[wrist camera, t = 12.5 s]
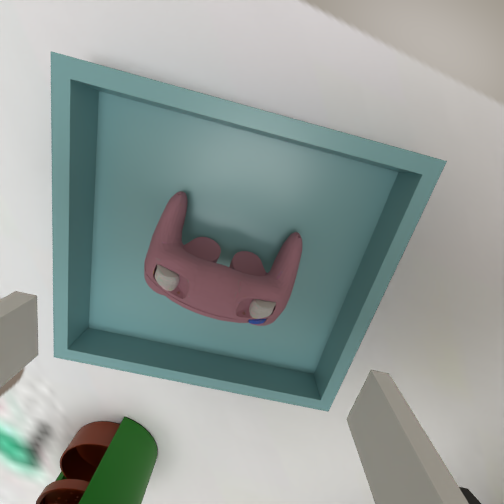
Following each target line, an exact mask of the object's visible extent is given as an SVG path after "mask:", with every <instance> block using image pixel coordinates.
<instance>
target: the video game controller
mask: <svg viewBox="0 0 504 504" xmlns="http://www.w3.org/2000/svg"><path fill="white" fill-rule="evenodd" d="M187 202H188V200H187V195H186V193H185V192H183V191H180V192H177V193H176V194H175V195H173V196H172V197H171V198H170V200H169V202H168V203H167V205H166V207H165V209H164V211H163V213H162V215H161V218H160V220H159V222H158V224H157V226H156V228H155V231H154V233H153V236H152V239H151V242H150V246H149V249H148V252H147V255H146V258H145V262H144V277H145V281H146V283H147V284H148V286H149V287H150V288H151V289H152V290H153V291H155V292H156V293H158V294H160V295H164V296H166V297H167V298H169V299H170V300H171V301H173V302H175V303H176V304H178V305H180V306H182V307H183V308H186V309H188V310H190V311H192V312H195V313H197V314H200V315H203V316H206V317H210V318H214V319H217V320H221V321H228V322H235V323H250V324H252V325H257V326H265V325H269V324H271V323H273V322H274V321H275V320H276V319H277V318H278V317H279V315H280V314H281V313H282V312H283V311H284V309H285V308H286V306H287V303H288V301H289V298H290V296H291V293H292V290H293V286H294V283H295V279H296V275H297V271H298V267H299V263H300V258H301V254H302V247H303V246H302V238H301V235H300V234H299V233H298V232H294V233H292V234H291V235H290V236H289V237H288V238H287V240H286V241H285V242H284V244H283V245H282V247H281V249H280V251H279V253H278V255H277V256H276V258H275V260H274V263H273V265H272V268H271V270H270V271H269V272H268V273H267V272H266V271H265V269H264V267H263V264H262V262H261V260H260V258H259V257H258V256H257V255H255V254H254V253H251V252H248V251H240V252H237V253H236V254H235V255H234V257H233V259H232V261H231V264H230V266H229V267H227V266H225V265H221V264H218V263H217V260H218V258H219V256H220V253H221V248H220V246H219V245H218V243H216V242H215V241H214V240H212V239H210V238H207V237H197V238H195V239H193V240H192V241H190V242H189V243H187V244H185V245H184V244H183V243H182V230H183V225H184V221H185V217H186V211H187Z"/></svg>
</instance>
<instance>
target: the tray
mask: <svg viewBox="0 0 504 504" xmlns="http://www.w3.org/2000/svg"><path fill="white" fill-rule="evenodd" d="M51 128H52V226H53V323H54V357H56V358H61V359H66V360H71V361H76V362H81V363H86V364H91V365H96V366H101V367H106V368H111V369H116V370H122V371H127V372H132V373H137V374H142V375H147V376H152V377H157V378H162V379H167V380H172V381H177V382H182V383H187V384H192V385H197V386H202V387H207V388H212V389H217V390H223V391H228V392H233V393H238V394H243V395H248V396H253V397H258V398H263V399H268V400H273V401H278V402H283V403H288V404H293V405H298V406H303V407H308V408H313V409H318V410H323V411H329V409H330V407H331V405H332V403H333V401H334V399H335V396H336V394H337V392H338V390H339V388H340V386H341V384H342V382H343V380H344V377H345V375H346V373H347V371H348V369H349V367H350V365H351V363H352V360H353V358H354V356H355V354H356V352H357V350H358V348H359V346H360V344H361V341H362V339H363V337H364V335H365V333H366V331H367V329H368V327H369V325H370V322H371V320H372V318H373V316H374V314H375V312H376V310H377V308H378V306H379V303H380V301H381V299H382V297H383V295H384V293H385V291H386V289H387V287H388V284H389V282H390V280H391V278H392V276H393V274H394V272H395V270H396V267H397V265H398V263H399V261H400V259H401V257H402V255H403V253H404V251H405V248H406V246H407V244H408V242H409V240H410V238H411V236H412V234H413V232H414V229H415V227H416V225H417V223H418V221H419V219H420V217H421V215H422V213H423V210H424V208H425V206H426V204H427V202H428V200H429V198H430V196H431V194H432V191H433V189H434V187H435V185H436V183H437V181H438V179H439V177H440V174H441V172H442V170H443V168H444V166H445V164H446V162H447V161H444V160H441V159H437V158H433V157H430V156H426V155H423V154H419V153H415V152H412V151H408V150H405V149H401V148H397V147H394V146H390V145H386V144H383V143H379V142H376V141H372V140H368V139H365V138H361V137H358V136H354V135H350V134H347V133H343V132H340V131H336V130H332V129H329V128H325V127H322V126H318V125H314V124H311V123H307V122H304V121H300V120H296V119H293V118H289V117H286V116H282V115H278V114H275V113H271V112H267V111H264V110H260V109H257V108H253V107H249V106H246V105H242V104H239V103H235V102H231V101H228V100H224V99H221V98H217V97H213V96H210V95H206V94H203V93H199V92H195V91H192V90H188V89H185V88H181V87H177V86H174V85H170V84H167V83H163V82H159V81H156V80H152V79H148V78H145V77H141V76H138V75H134V74H130V73H127V72H123V71H120V70H116V69H112V68H109V67H105V66H102V65H98V64H94V63H91V62H87V61H84V60H80V59H76V58H73V57H69V56H66V55H62V54H58V53H55V52H51ZM180 191H183V192H185V193H186V195H187V200H188V202H187V211H186V217H185V221H184V225H183V230H182V243H183V244H184V245H185V244H187V243H189V242H190V241H192V240H193V239H195V238H197V237H207V238H210V239H212V240H214V241H215V242H216V243H218V245H219V246H220V248H221V253H220V256H219V258H218V260H217V263H218V264H221V265H225V266H227V267H229V266H230V264H231V261H232V259H233V257H234V255H235V254H236V253H237V252H240V251H248V252H251V253H254V254H255V255H257V256H258V257H259V258H260V260H261V262H262V264H263V267H264V269H265V271H266V272H267V273H268V272H269V271H270V270H271V268H272V265H273V263H274V260H275V258H276V256H277V255H278V253H279V251H280V249H281V247H282V245H283V244H284V242H285V241H286V240H287V238H288V237H289V236H290V235H291V234H292V233H294V232H298V233H299V234H300V235H301V238H302V246H303V247H302V254H301V258H300V263H299V267H298V271H297V275H296V279H295V283H294V286H293V290H292V293H291V296H290V298H289V301H288V303H287V306H286V308H285V309H284V311H283V312H282V313H281V314H280V315H279V317H278V318H277V319H276V320H275V321H274V322H273V323H271V324H269V325H265V326H257V325H252V324H250V323H235V322H228V321H221V320H217V319H214V318H210V317H206V316H203V315H200V314H197V313H195V312H192V311H190V310H188V309H186V308H183V307H182V306H180V305H178V304H176V303H175V302H173V301H171V300H170V299H169V298H167V297H166V296H164V295H160V294H158V293H156V292H155V291H153V290H152V289H151V288H150V287H149V286H148V284H147V283H146V281H145V277H144V262H145V258H146V255H147V252H148V249H149V246H150V242H151V239H152V236H153V233H154V231H155V228H156V226H157V224H158V222H159V220H160V218H161V215H162V213H163V211H164V209H165V207H166V205H167V203H168V202H169V200H170V198H171V197H172V196H173V195H175V194H176V193H177V192H180Z"/></svg>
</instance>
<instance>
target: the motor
mask: <svg viewBox="0 0 504 504" xmlns="http://www.w3.org/2000/svg"><path fill="white" fill-rule="evenodd" d="M156 459H157V446H156V443H155V441H154V439H153V438H152V436H151V435H150V434H149V432H148V431H147V430H146V429H144V428H143V427H142V426H141V425H139V424H138V423H136V422H134V421H133V420H131V419H128V418H126V417H124V418H123V420H122V422H121V424H117V423H113V422H103V421H102V422H93V423H90V424H87V425H85V426H83V427H82V428H81V429H80V430H79V431H78V432H77V434H76V435H75V437H74V438H73V440H72V441H71V443H70V444H69V446H68V447H67V449H66V450H65V452H64V453H63V455H62V456H61V459H60V468H61V473H60V475H59V476H58V478H57V479H56V481H55V482H53V483H51V484H49V485H48V486H46V487H45V489H44V490H43V492H42V493H41V495H40V496H39V498H38V499H37V501H36V504H141V503H142V500H143V497H144V494H145V491H146V488H147V485H148V482H149V479H150V476H151V473H152V471H153V468H154V465H155V462H156Z"/></svg>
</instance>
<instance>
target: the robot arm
mask: <svg viewBox="0 0 504 504" xmlns="http://www.w3.org/2000/svg"><path fill="white" fill-rule="evenodd" d="M37 355H38V319H37V296H36V295H31V294H27V293H22V292H18V291H15V292H13V293H11V294H10V295H8V296H6V297H4V298H2V299H0V388H1V387H2V386H3V385H4V384H6V383H7V382H8V381H9V380H10V379H11V378H12V377H13V376H14V375H16V374H17V373H18V372H19V371H20V370H21V369H23V368H24V367H25V366H26V365H27V364H28V363H29V362H31V361H32V360H33V359H34V358H35V357H36V356H37ZM347 422H348V425H349V428H350V431H351V434H352V437H353V439H354V442H355V445H356V448H357V451H358V454H359V457H360V460H361V463H362V466H363V469H364V472H365V474H366V477H367V480H368V483H369V486H370V489H371V492H372V495H373V498H374V501H375V504H481V503H480V502H479V501H478V500H477V499H476V497H475V496H474V495H473V494H472V493H471V492H470V491H469V490H468V489H466V488H461V487H458V485H457V483H456V482H455V480H454V479H453V477H452V475H451V474H450V472H449V470H448V469H447V467H446V466H445V464H444V462H443V461H442V459H441V457H440V456H439V454H438V453H437V451H436V449H435V448H434V446H433V444H432V443H431V441H430V440H429V438H428V436H427V435H426V433H425V431H424V430H423V428H422V427H421V425H420V423H419V422H418V420H417V418H416V417H415V415H414V414H413V412H412V410H411V409H410V407H409V405H408V404H407V402H406V401H405V399H404V397H403V396H402V394H401V392H400V391H399V389H398V388H397V386H396V384H395V383H394V381H393V379H392V378H391V376H390V375H389V374H388V373H383V372H379V371H374V370H371V371H370V373H369V375H368V377H367V379H366V381H365V383H364V385H363V387H362V389H361V391H360V393H359V395H358V397H357V399H356V401H355V403H354V405H353V407H352V409H351V411H350V413H349V415H348V417H347Z"/></svg>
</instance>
